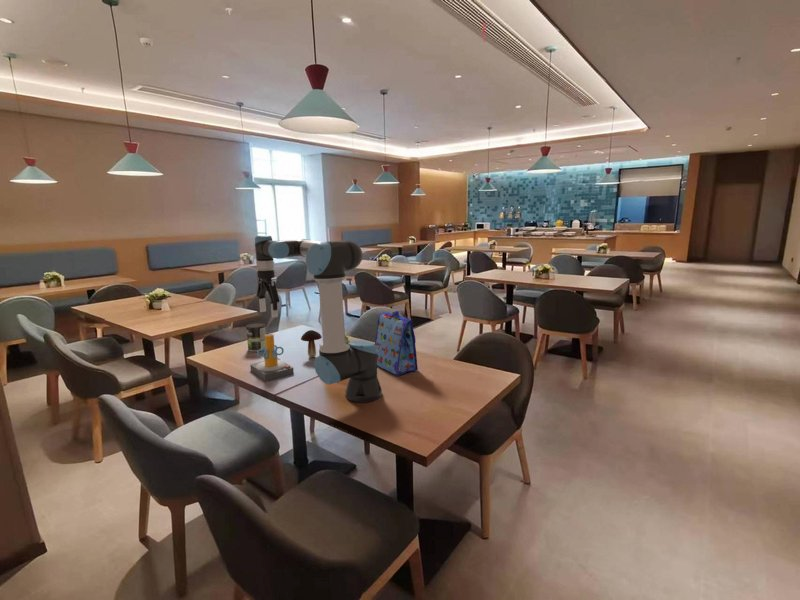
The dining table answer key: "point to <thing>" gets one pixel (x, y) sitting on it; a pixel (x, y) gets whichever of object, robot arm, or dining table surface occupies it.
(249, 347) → the coffee can
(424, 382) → the dining table surface
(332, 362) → the robot arm
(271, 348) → the yellow tube with rings
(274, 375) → the mount slab
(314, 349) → the decorative mushroom
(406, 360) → the lunch bag
